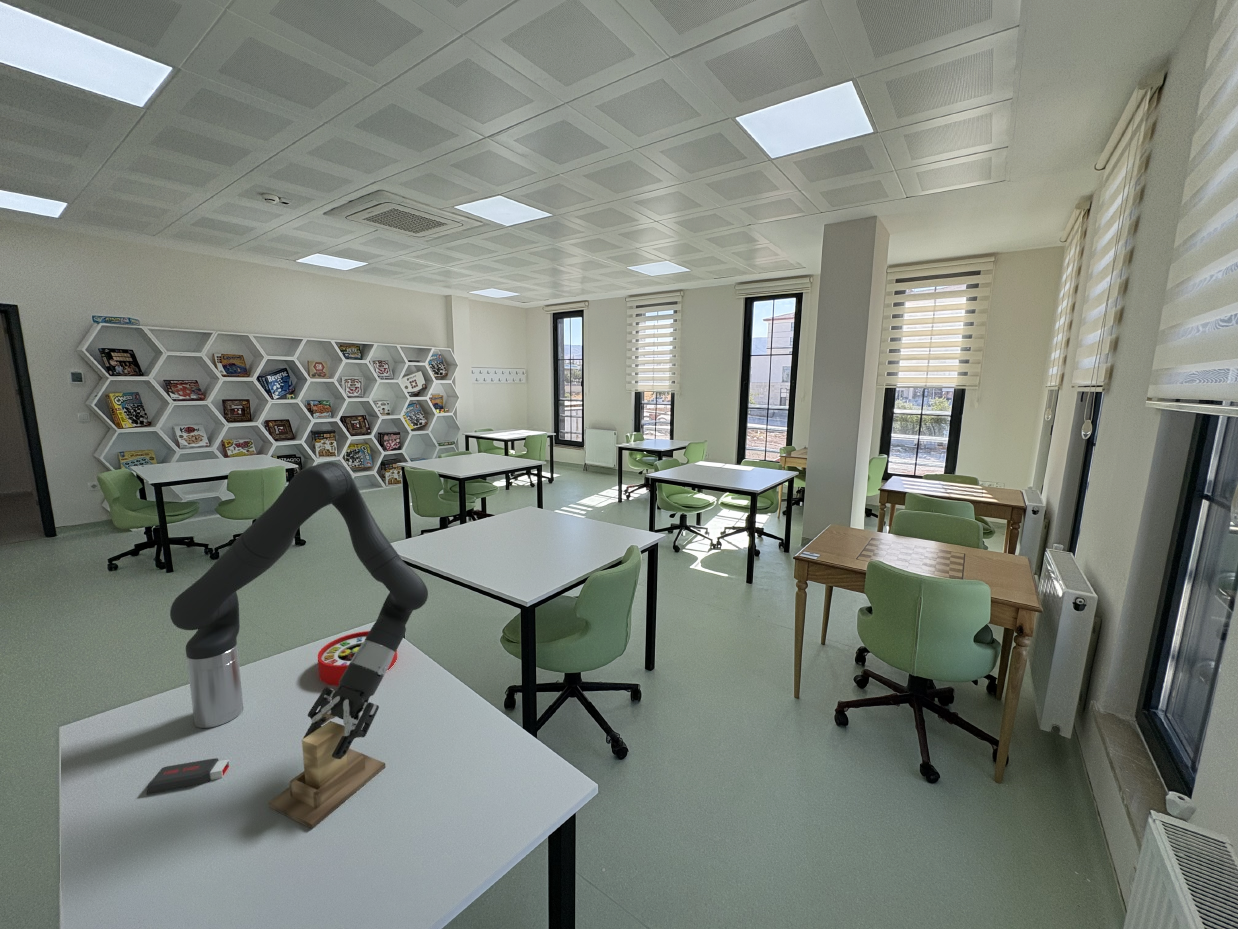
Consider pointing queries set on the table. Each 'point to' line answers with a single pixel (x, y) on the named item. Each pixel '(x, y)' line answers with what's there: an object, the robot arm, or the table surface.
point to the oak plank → (322, 755)
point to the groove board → (326, 791)
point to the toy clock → (340, 657)
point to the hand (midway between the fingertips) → (320, 751)
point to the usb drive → (187, 775)
